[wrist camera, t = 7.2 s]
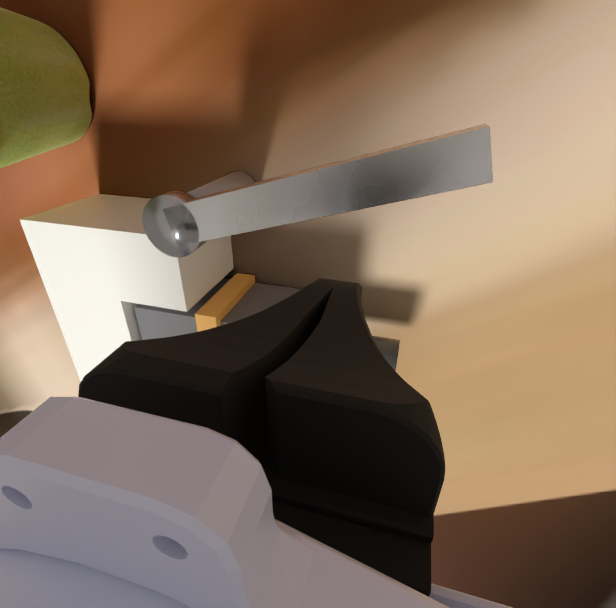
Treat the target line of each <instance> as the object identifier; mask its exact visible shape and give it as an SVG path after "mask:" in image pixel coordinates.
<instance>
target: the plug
mask: <svg viewBox="0 0 616 608" xmlns="http://www.w3.org/2000/svg"><path fill="white" fill-rule="evenodd" d="M300 290H302V289H298V288H290V287H283V286H276V285H269V284H262V283H255V275H248V274H241V273H237V274H235V275H234V276H233V277H232V278H231V279H227V278H223V279H222V280H221V281H220V282H218V283H217V284H216V285H215V286H214V287H213V288H212V289H211V290H210V291H209V292H208V293H207V294H206V295H204V296H203V297H202V298H201V299H200V300H199V301H198V302H197V303H196V304H195V305H194V306H193V307H192V308H190V309H189V310H188V311H187V312H185V311H179V310H173V309H167V308H161V307H155V306H149V305H143V304H137V305H136V306H135V307H134V309H135V313H136V317H137V321H138V325H139V329H140V333H141V337H142V340H147V339H156V338H165V337H172V336H178V335H183V334H189V333H194V332H199V331H203V330H207V329H211V328H214V327H218V326H221V325H225V324H228V323H232V322H235V321H238V320H241V319H243V318H246V317H249V316H251V315H254V314H256V313H258V312H261V311H263V310H265V309H267V308H269V307H271V306H273V305H275V304H277V303H279V302H281V301H283V300H284V299H286V298H288V297H290V296H291V295H293V294H295V293H297V292H298V291H300ZM372 337H373V339H374V341H375V343H376V345H377V346H378V348H379V350H380V351H381V353H382V354H383V356H384V357H385V359H386V360H387V361H388V363H389V364H390V365H391V366H392V368H393V369H394V370H396V364H397V357H398V350H399V341H400V340H395V339H389V338H383V337H377V336H372Z"/></svg>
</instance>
